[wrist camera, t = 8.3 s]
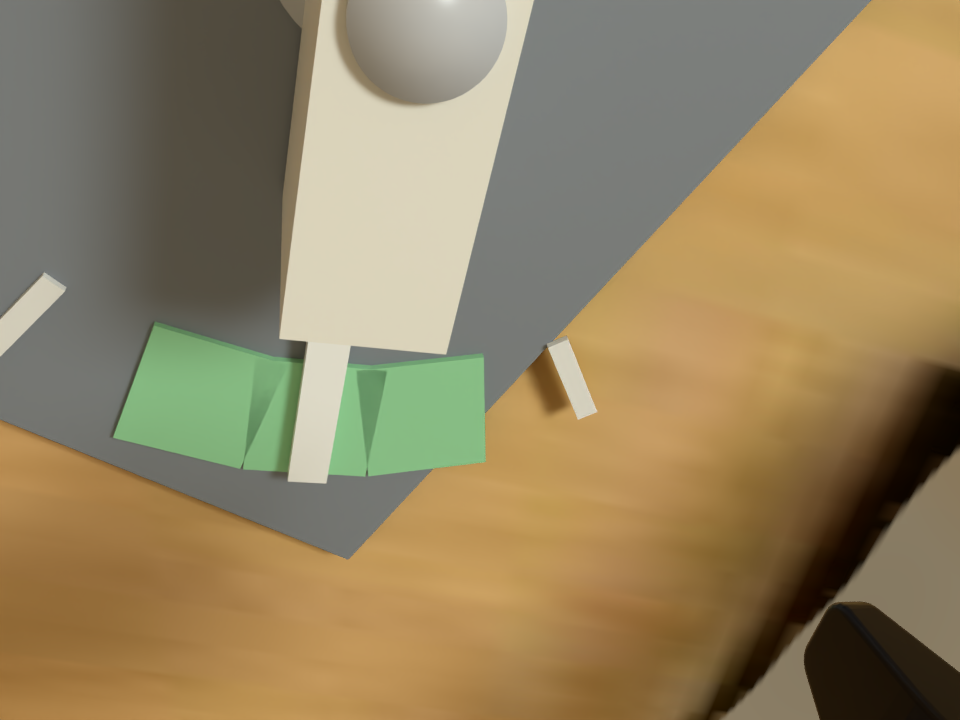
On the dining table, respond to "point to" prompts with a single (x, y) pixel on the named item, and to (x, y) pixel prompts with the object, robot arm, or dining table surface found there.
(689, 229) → the dining table surface
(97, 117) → the grey board
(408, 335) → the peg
